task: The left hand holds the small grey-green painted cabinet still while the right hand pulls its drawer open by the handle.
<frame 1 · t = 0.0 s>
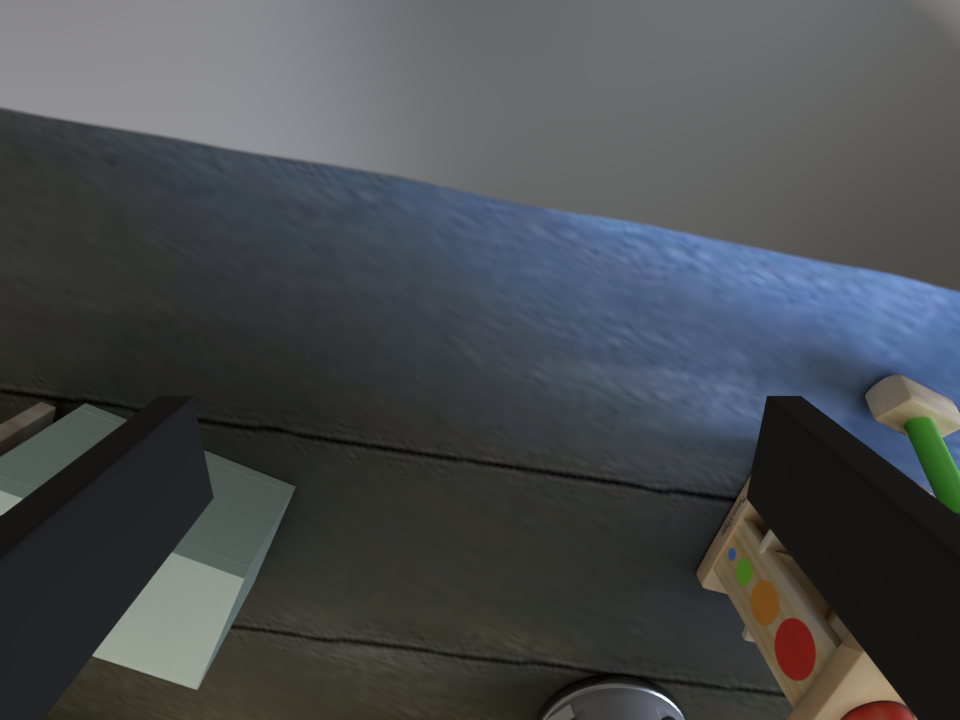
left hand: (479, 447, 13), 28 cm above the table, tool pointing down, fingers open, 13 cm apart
pounding bench toy: (825, 490, 46), on the table
drawer: (56, 510, 40), point 5 cm above the table, slide at 1.4 cm
cabinet: (175, 498, 46), on the table
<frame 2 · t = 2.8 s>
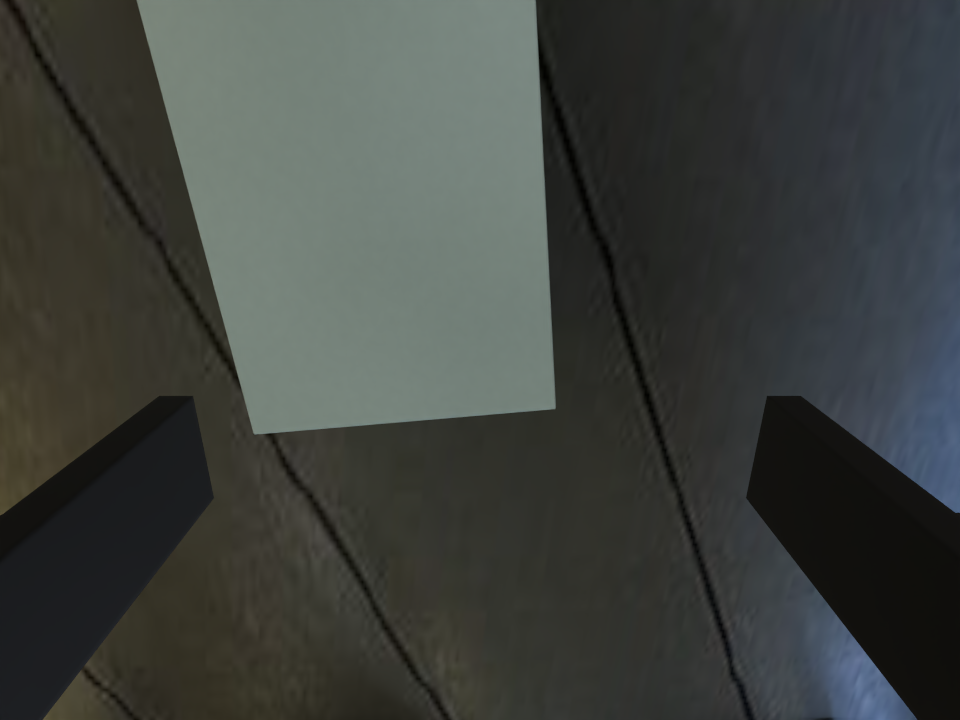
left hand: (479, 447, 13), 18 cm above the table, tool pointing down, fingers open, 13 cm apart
cabinet: (406, 167, 27), on the table
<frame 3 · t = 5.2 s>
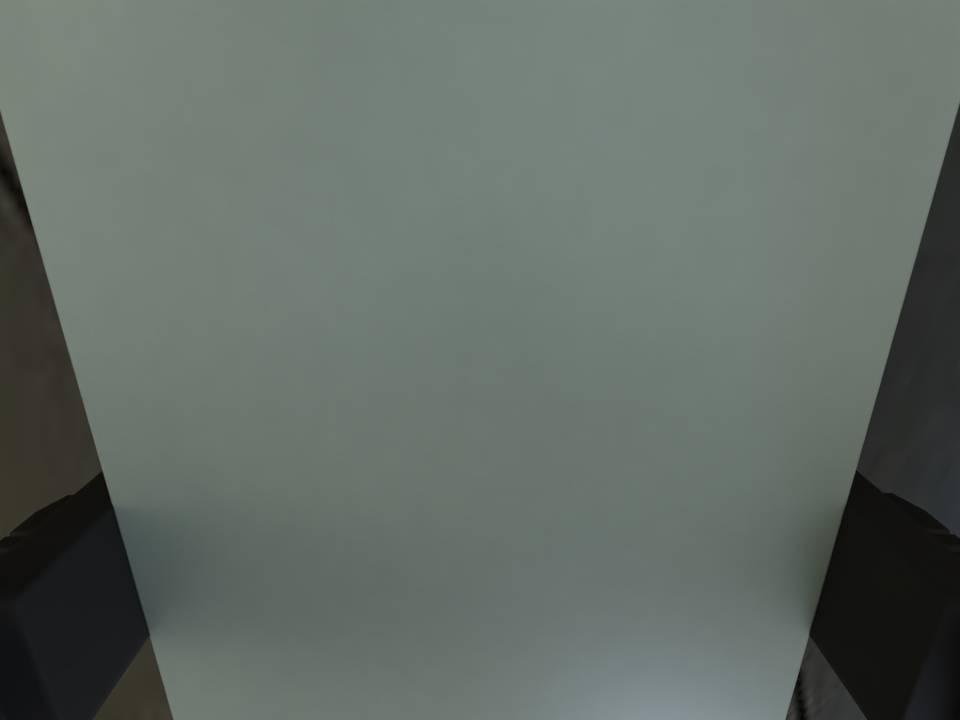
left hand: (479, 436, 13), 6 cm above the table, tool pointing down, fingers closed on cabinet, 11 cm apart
cabinet: (479, 193, 17), on the table, touching left hand
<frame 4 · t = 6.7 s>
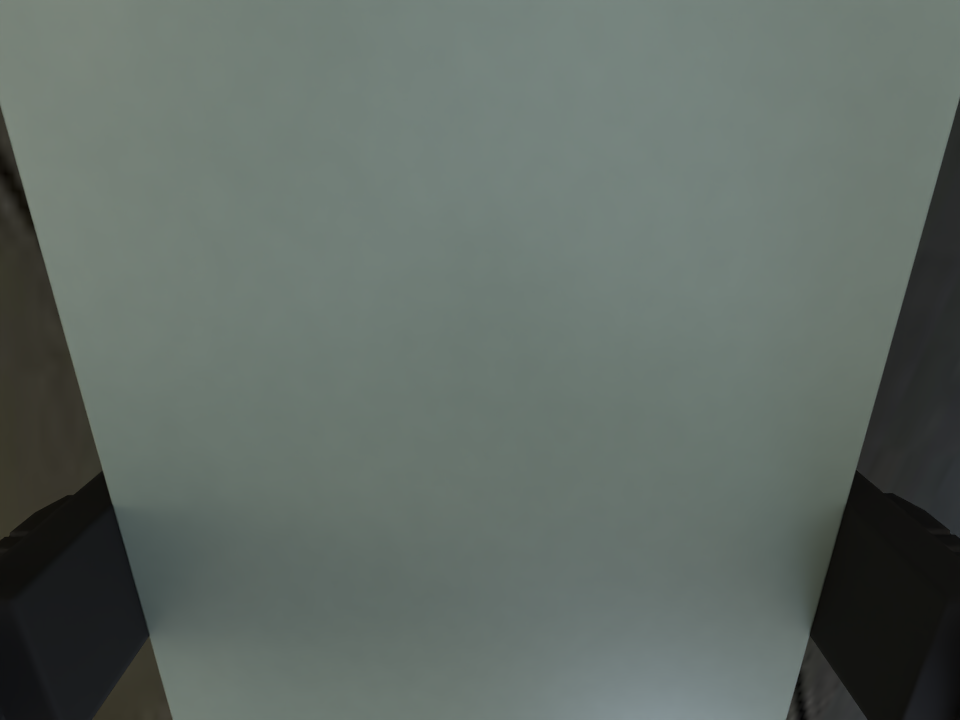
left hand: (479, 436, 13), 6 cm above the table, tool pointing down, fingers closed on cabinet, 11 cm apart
cabinet: (479, 194, 17), on the table, touching left hand
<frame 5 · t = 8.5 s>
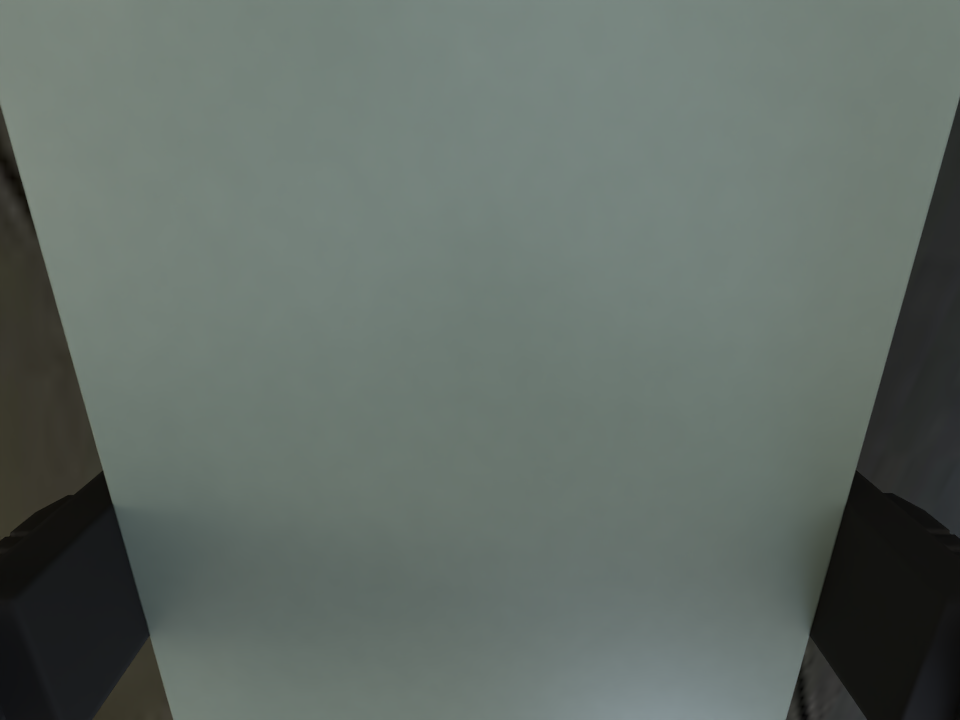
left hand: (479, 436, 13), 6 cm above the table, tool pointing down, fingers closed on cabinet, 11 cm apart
cabinet: (479, 194, 17), on the table, touching left hand
when the left hand's fingers open (6 cm above the table, at t = 10.3 s): cabinet stays where it is, on the table.
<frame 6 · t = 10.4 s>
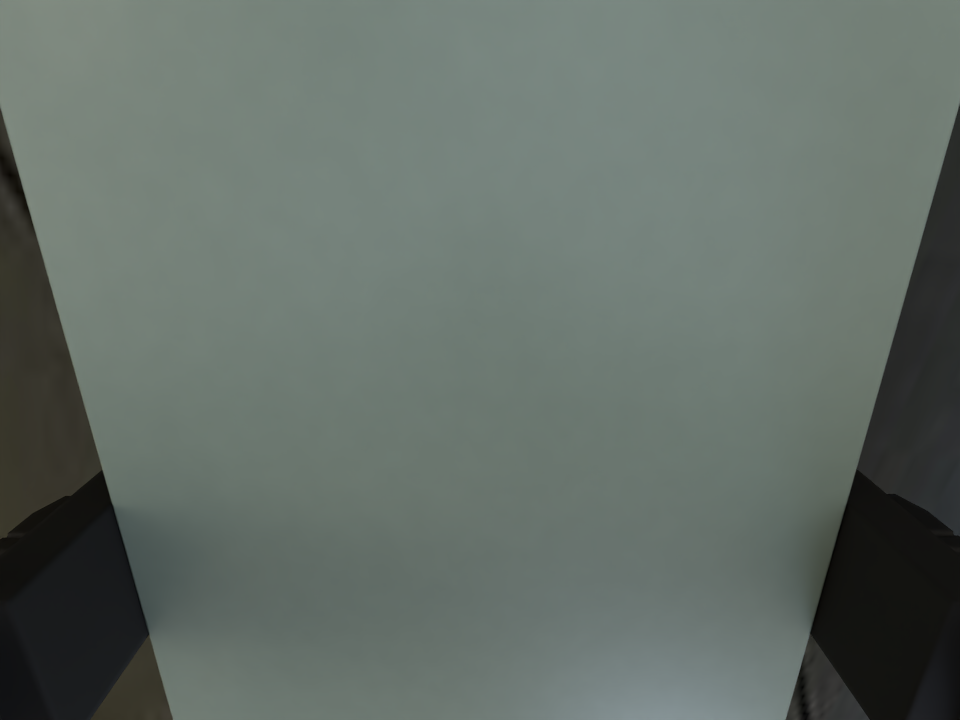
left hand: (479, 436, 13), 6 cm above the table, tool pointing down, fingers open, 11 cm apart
cabinet: (479, 192, 17), on the table
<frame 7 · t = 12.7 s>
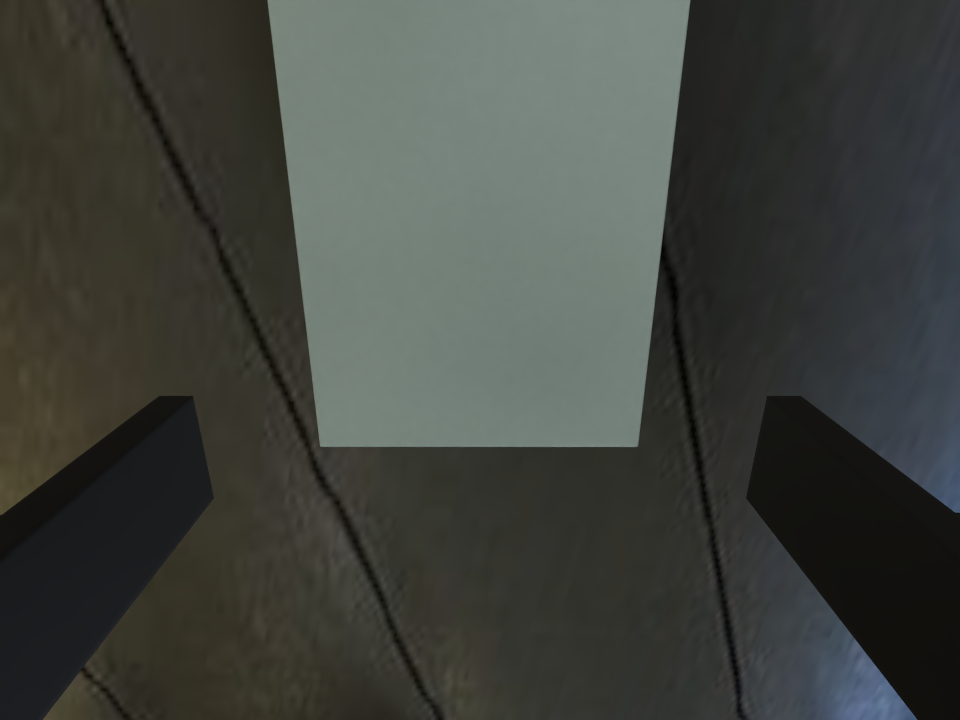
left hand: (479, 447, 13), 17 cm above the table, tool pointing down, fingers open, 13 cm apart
cabinet: (479, 176, 26), on the table
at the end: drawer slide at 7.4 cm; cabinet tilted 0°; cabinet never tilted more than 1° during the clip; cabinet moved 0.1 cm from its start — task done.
